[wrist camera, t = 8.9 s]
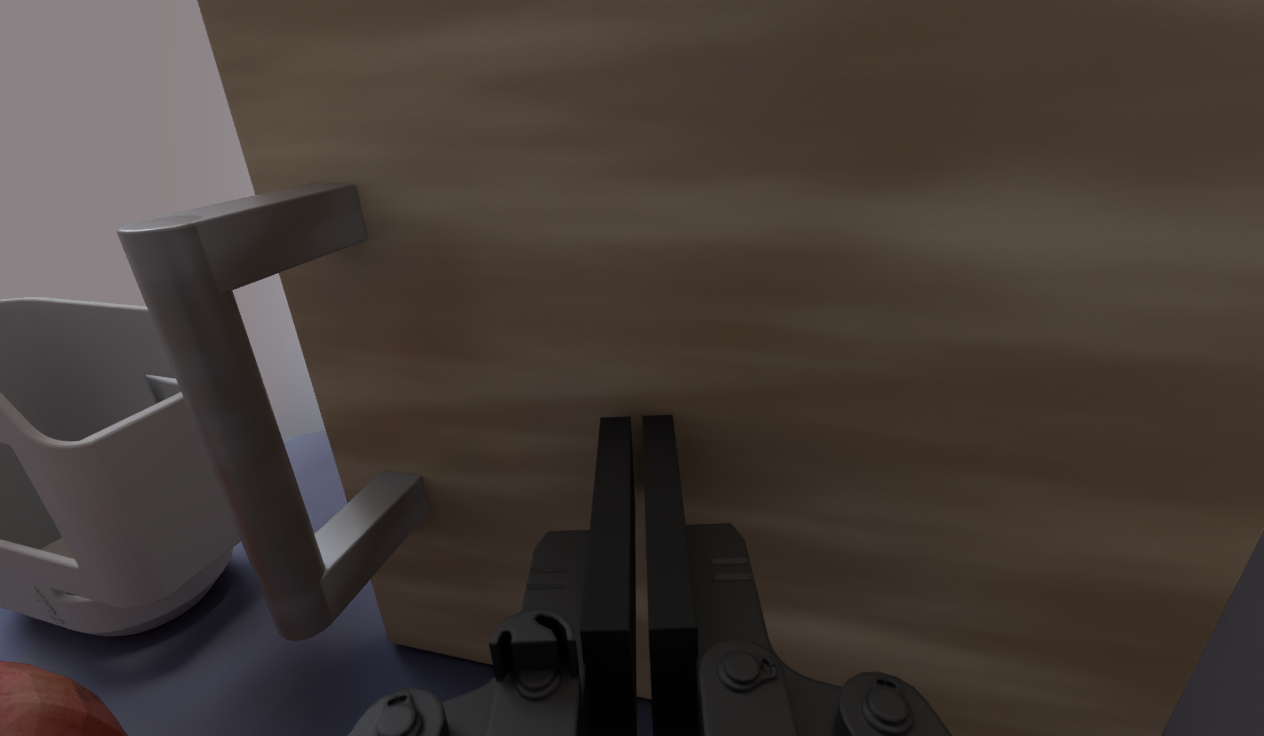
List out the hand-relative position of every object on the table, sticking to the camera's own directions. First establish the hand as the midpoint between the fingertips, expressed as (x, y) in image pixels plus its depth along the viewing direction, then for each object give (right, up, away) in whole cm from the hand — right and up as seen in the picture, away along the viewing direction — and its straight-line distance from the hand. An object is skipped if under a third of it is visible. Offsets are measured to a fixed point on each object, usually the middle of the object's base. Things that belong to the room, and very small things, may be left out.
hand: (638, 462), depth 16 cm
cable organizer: (-21, -7, +10) cm, 24 cm away
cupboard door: (+2, -10, +2) cm, 10 cm away
